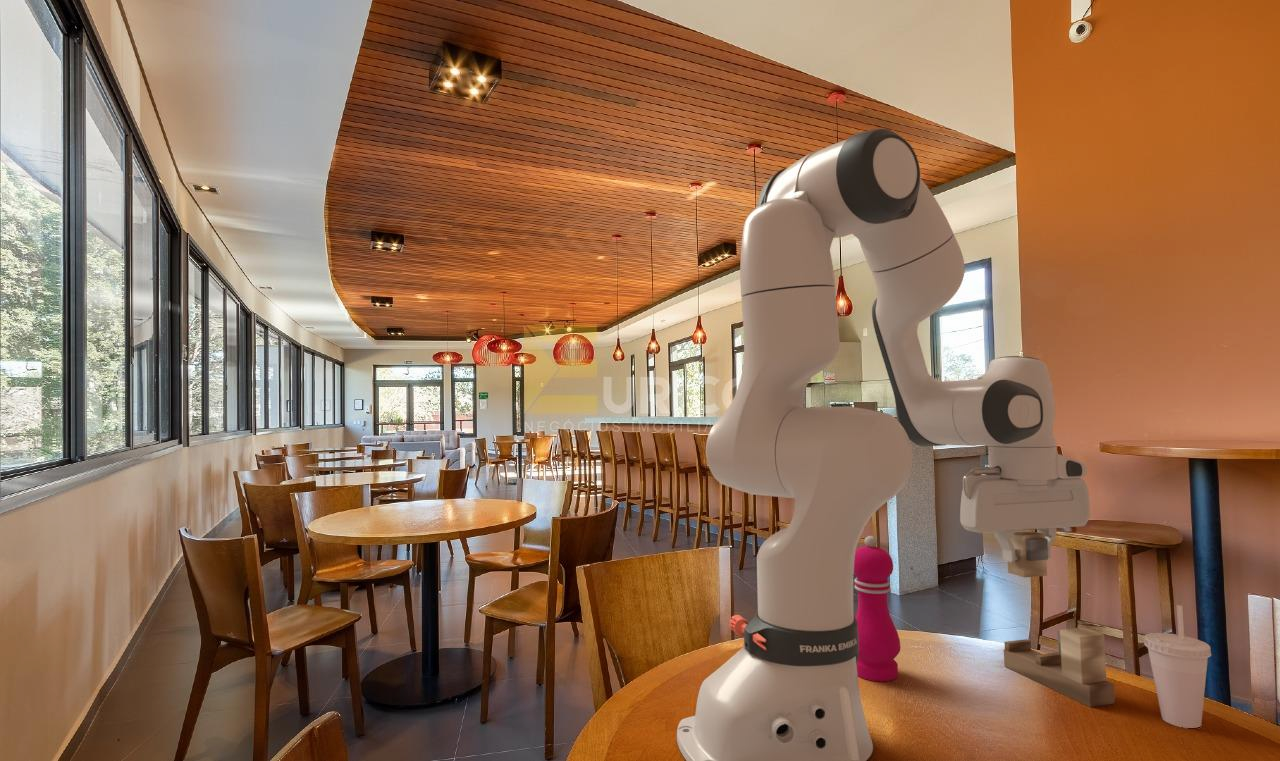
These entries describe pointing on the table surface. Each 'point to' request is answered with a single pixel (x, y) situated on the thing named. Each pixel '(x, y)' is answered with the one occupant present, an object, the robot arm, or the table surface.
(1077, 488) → the robot arm
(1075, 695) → the rail
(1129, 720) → the table surface
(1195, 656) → the smoothie
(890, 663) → the pepper mill
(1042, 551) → the grey-banded wooden block
